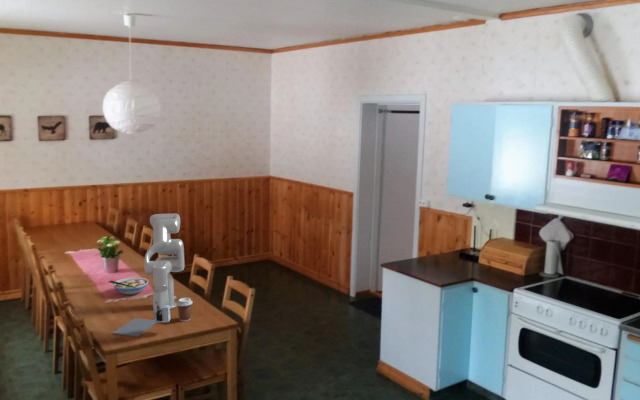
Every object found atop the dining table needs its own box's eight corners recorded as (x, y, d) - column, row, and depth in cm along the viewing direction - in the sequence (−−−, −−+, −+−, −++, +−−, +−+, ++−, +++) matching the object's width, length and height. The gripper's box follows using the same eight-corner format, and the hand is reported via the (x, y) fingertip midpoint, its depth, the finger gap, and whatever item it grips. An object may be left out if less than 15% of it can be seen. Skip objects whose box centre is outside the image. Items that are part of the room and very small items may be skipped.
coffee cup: (176, 317, 334) (175, 298, 332) (192, 315, 337) (191, 296, 335) (178, 323, 325) (177, 303, 323) (194, 321, 329) (193, 301, 327)
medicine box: (170, 319, 314) (170, 304, 312) (168, 322, 309) (168, 307, 308) (156, 319, 313) (155, 304, 312) (154, 322, 309) (153, 307, 307)
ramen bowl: (157, 291, 380) (157, 279, 379) (130, 301, 361) (129, 289, 360) (132, 285, 393) (132, 273, 392) (104, 294, 374) (103, 282, 373)
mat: (134, 319, 331) (134, 318, 331) (158, 321, 327) (158, 320, 327) (113, 334, 310) (113, 332, 310) (137, 336, 306) (137, 335, 306)
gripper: (162, 281, 317) (163, 312, 320) (146, 292, 300) (148, 324, 304) (174, 282, 315) (175, 313, 318) (159, 293, 299) (160, 325, 302)
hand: (162, 318), depth 311 cm, fingers closed on medicine box, 5 cm apart
